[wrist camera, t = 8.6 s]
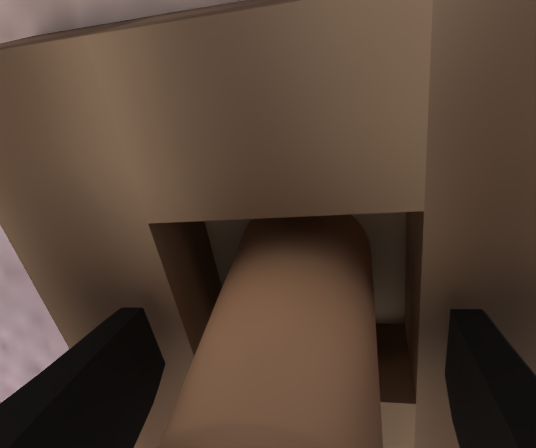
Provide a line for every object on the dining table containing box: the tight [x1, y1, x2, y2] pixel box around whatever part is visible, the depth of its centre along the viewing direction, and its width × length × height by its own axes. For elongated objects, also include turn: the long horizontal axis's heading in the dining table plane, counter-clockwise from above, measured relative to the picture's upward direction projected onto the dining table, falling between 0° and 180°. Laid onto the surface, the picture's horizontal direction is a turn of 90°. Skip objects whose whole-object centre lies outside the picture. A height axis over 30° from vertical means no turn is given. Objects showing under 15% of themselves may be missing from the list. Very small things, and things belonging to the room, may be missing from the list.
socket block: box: [0, 0, 536, 448], centre depth 12 cm, size 14×14×4 cm
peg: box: [157, 214, 383, 448], centre depth 10 cm, size 4×4×7 cm
